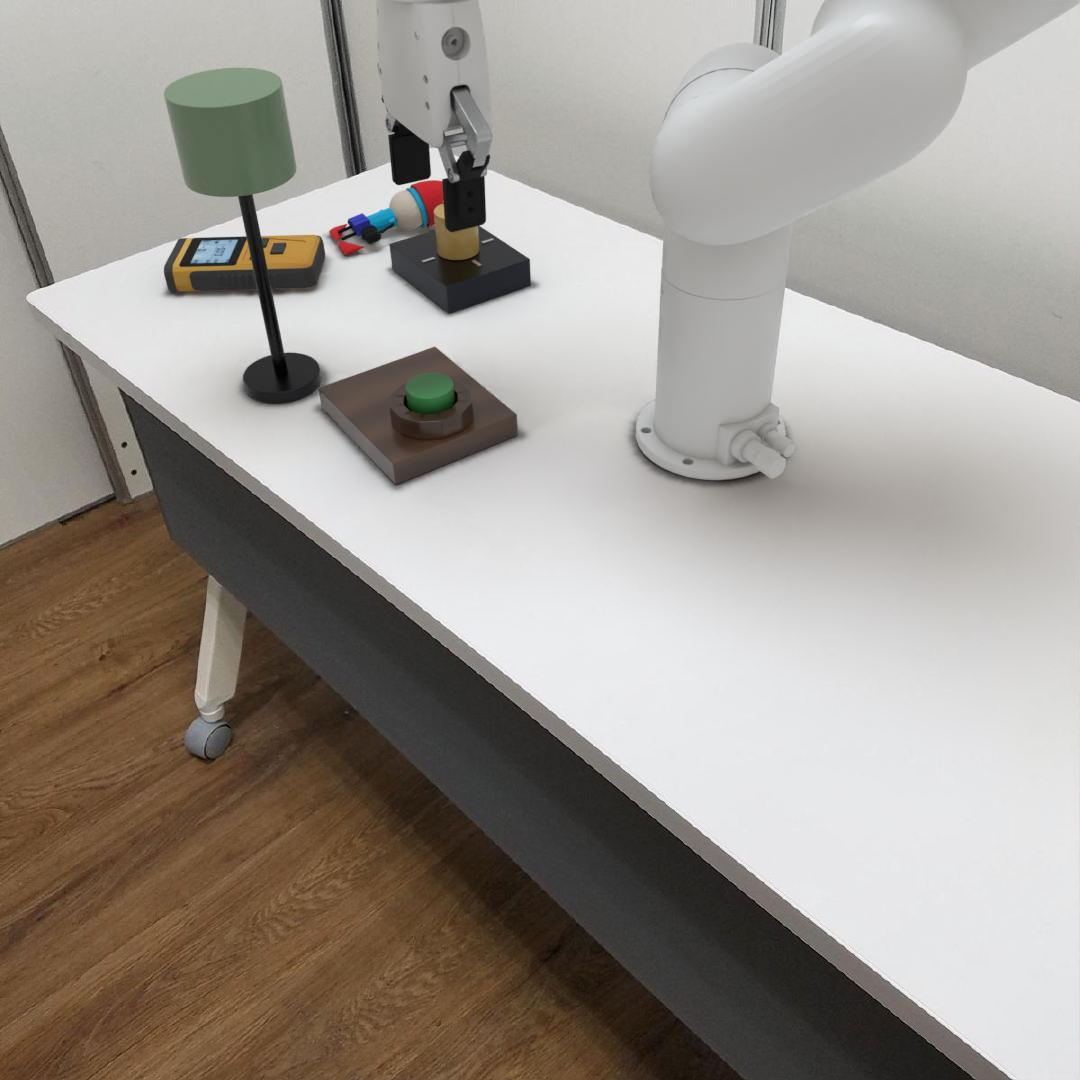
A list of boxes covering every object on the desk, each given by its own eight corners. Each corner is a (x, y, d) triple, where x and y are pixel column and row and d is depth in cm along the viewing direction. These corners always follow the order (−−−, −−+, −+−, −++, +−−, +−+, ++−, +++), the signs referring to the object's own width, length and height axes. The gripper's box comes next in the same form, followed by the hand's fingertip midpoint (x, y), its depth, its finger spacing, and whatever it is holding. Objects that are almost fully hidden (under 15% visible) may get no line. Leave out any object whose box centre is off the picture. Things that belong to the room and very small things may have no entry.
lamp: (348, 388, 104) (300, 89, 87) (257, 421, 101) (188, 116, 83) (307, 347, 110) (254, 59, 93) (219, 377, 106) (147, 83, 89)
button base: (518, 435, 98) (516, 396, 95) (395, 485, 93) (390, 445, 90) (437, 366, 107) (433, 328, 104) (321, 408, 102) (314, 370, 99)
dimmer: (487, 252, 118) (484, 208, 115) (451, 264, 116) (447, 220, 113) (465, 237, 121) (462, 194, 118) (429, 249, 119) (425, 205, 116)
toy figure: (352, 271, 125) (472, 220, 128) (337, 230, 122) (461, 179, 125) (332, 249, 131) (447, 201, 134) (317, 210, 128) (436, 161, 131)
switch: (463, 405, 95) (462, 387, 94) (422, 421, 94) (420, 403, 92) (439, 384, 98) (438, 367, 97) (398, 400, 96) (396, 382, 95)
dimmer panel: (531, 285, 119) (530, 257, 117) (448, 313, 114) (446, 285, 112) (471, 244, 126) (469, 217, 124) (392, 269, 122) (388, 242, 120)
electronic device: (317, 294, 119) (312, 265, 117) (168, 297, 119) (160, 267, 117) (328, 257, 125) (323, 228, 123) (186, 259, 125) (179, 231, 123)
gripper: (531, -12, 73) (533, 235, 84) (419, -69, 85) (434, 156, 96) (425, 5, 70) (442, 258, 82) (324, -56, 82) (351, 174, 93)
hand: (438, 203), depth 89 cm, fingers open, 9 cm apart
